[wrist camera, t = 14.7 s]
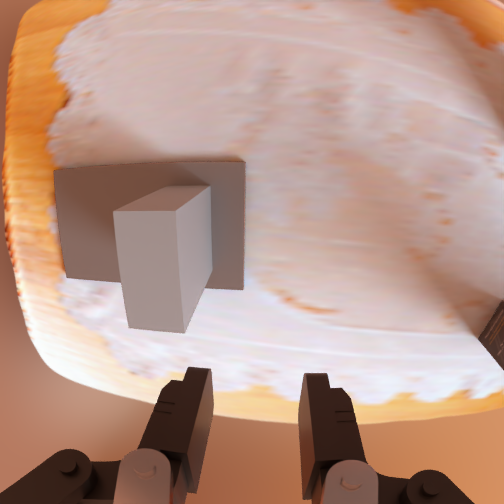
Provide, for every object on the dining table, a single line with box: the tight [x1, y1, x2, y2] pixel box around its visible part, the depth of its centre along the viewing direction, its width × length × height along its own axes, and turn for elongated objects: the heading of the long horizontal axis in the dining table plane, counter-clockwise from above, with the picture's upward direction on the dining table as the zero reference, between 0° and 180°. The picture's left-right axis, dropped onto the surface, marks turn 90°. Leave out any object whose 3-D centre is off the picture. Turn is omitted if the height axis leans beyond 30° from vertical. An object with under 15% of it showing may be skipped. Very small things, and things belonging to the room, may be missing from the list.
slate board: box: [54, 162, 246, 290], centre depth 30 cm, size 20×12×1 cm, turn 89°
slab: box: [113, 185, 212, 333], centre depth 24 cm, size 8×4×11 cm, turn 179°
